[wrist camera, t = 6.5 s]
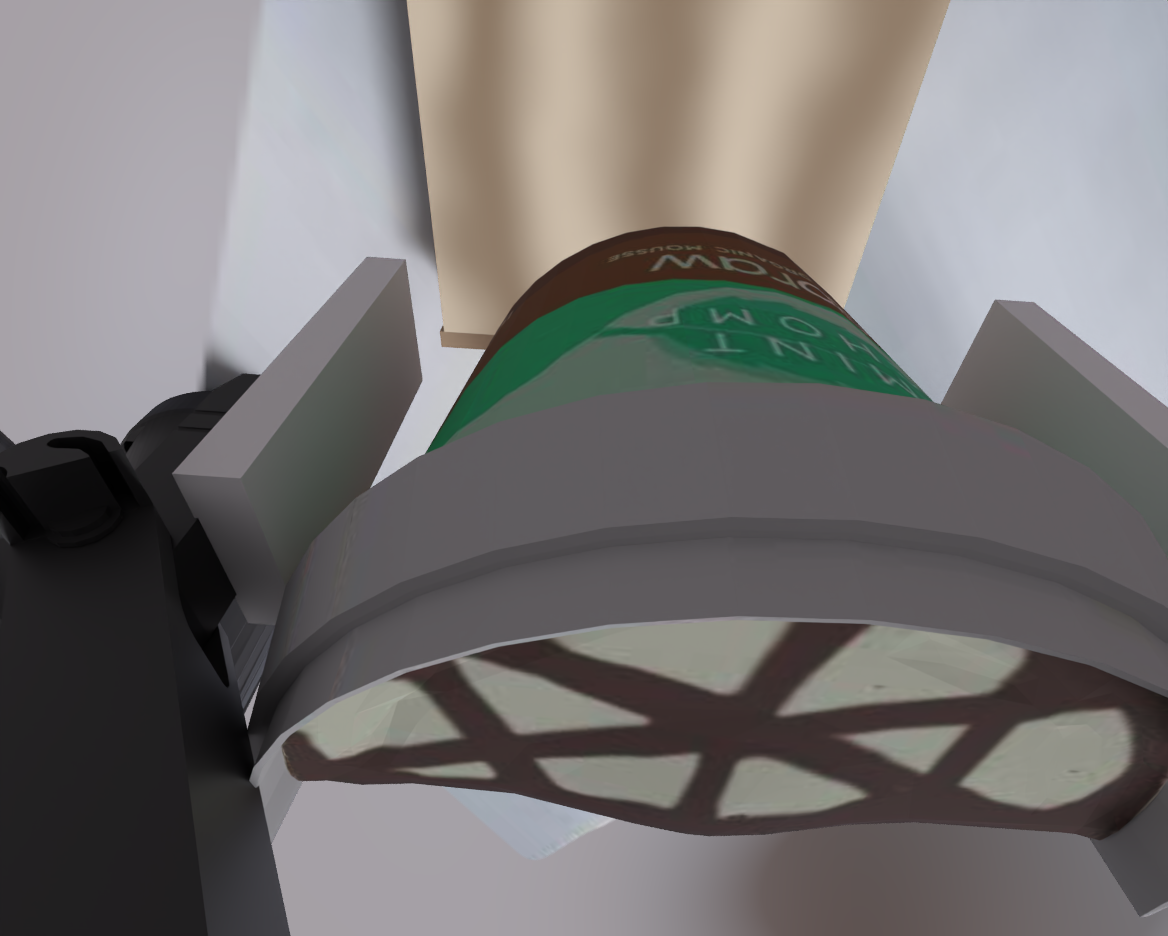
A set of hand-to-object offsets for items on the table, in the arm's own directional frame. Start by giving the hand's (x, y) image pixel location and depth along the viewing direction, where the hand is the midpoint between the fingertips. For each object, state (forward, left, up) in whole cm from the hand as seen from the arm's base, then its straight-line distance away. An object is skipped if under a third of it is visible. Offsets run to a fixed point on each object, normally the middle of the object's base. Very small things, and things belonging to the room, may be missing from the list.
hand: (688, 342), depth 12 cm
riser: (0, 0, -18) cm, 18 cm away
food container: (0, 0, -1) cm, 1 cm away
